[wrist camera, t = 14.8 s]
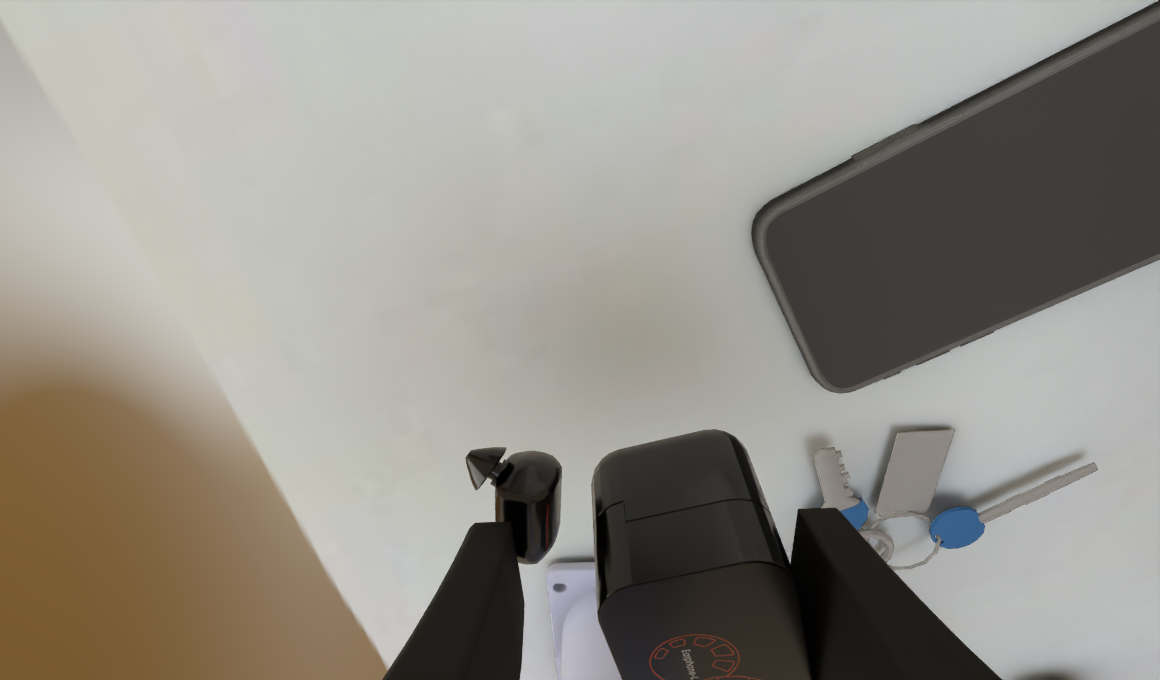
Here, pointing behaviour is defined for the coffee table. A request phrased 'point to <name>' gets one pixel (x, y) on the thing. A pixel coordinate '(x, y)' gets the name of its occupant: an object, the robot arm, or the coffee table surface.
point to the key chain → (920, 492)
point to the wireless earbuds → (670, 556)
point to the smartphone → (975, 213)
